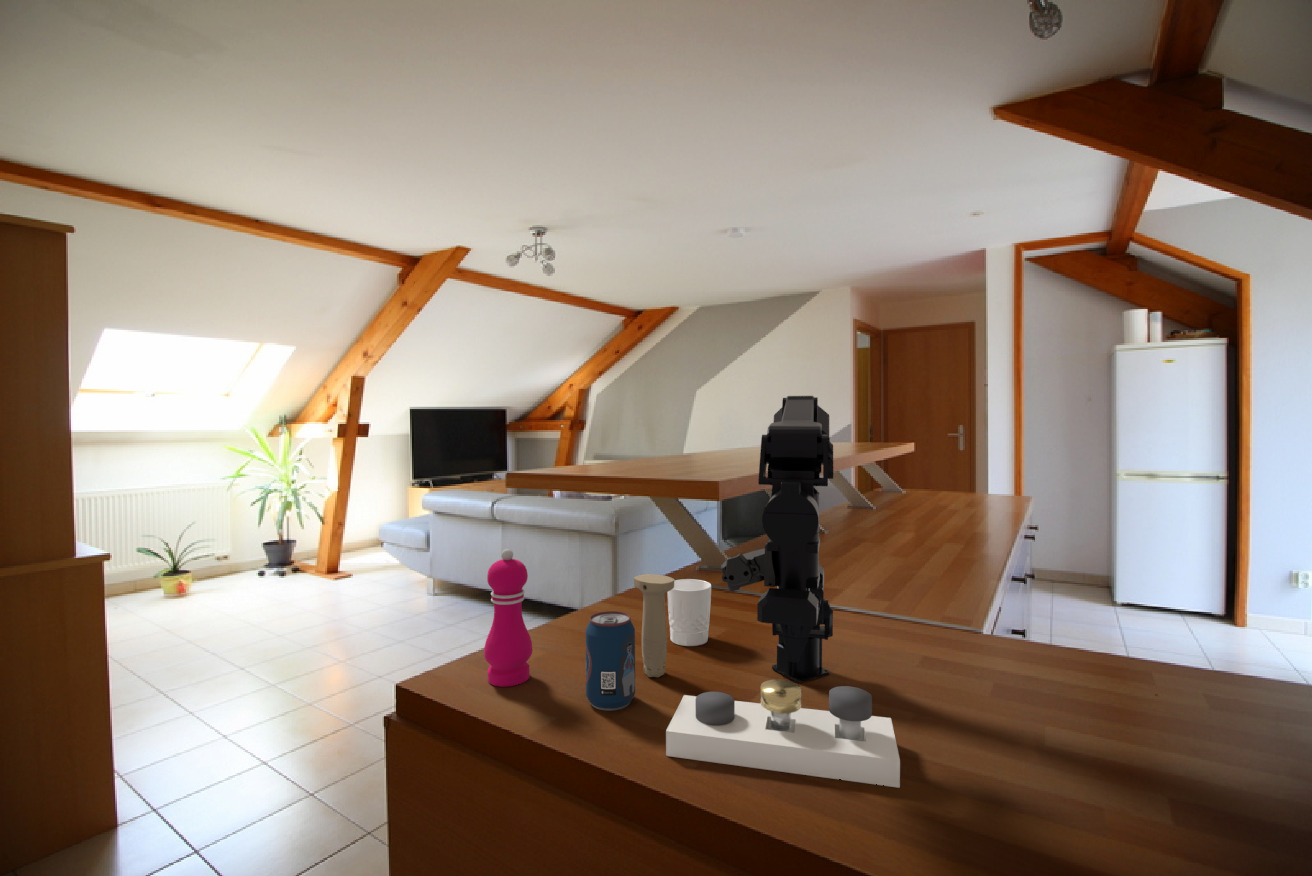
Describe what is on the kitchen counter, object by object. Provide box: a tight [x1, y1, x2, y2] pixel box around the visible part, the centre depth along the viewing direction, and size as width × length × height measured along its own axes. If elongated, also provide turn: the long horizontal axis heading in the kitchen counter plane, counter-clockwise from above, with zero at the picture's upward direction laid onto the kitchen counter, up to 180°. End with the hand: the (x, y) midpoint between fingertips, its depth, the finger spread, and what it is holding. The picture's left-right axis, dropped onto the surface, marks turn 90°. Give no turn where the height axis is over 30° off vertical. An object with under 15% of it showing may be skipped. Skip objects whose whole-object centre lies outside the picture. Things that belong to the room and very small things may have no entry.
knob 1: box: [696, 691, 736, 725], centre depth 79 cm, size 5×5×5 cm
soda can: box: [585, 610, 636, 711], centre depth 90 cm, size 7×7×12 cm
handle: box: [633, 573, 675, 678], centre depth 100 cm, size 5×6×15 cm
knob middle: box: [760, 678, 802, 731], centre depth 77 cm, size 5×5×5 cm
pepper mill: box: [483, 548, 533, 688], centre depth 98 cm, size 7×7×20 cm
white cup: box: [666, 578, 712, 647], centre depth 115 cm, size 8×8×10 cm
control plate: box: [665, 694, 901, 789], centre depth 77 cm, size 26×10×3 cm, turn 75°
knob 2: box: [828, 685, 873, 739], centre depth 75 cm, size 5×5×5 cm
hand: (793, 660), depth 77 cm, fingers closed
